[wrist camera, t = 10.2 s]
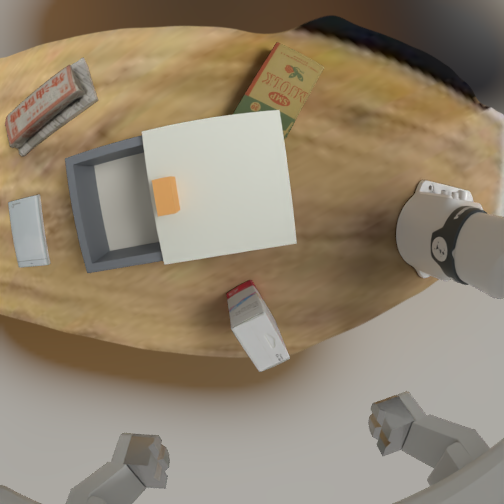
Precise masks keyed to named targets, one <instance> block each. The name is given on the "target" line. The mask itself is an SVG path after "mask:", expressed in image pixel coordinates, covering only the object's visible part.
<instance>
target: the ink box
mask: <svg viewBox="0 0 504 504" xmlns="http://www.w3.org/2000/svg"><path fill="white" fill-rule="evenodd" d="M226 295H227V301H228V308H229V315H230V322H231V330H232V331H233V333H234V334H235V336H236V338H237V339H238V341H239V342H240V344H241V345H242V347H243V348H244V350H245V351H246V353H247V354H248V356H249V357H250V359H251V360H252V362H253V363H254V365H255V366H256V368H257V369H258V371H260V372H261V371H264V370H267V369H269V368H271V367H274V366H276V365H278V364H280V363H282V362H284V361H286V360H288V359H290V356H289V354H288V352H287V349H286V346H285V344H284V341H283V339H282V336H281V334H280V331H279V329H278V326H277V324H276V321H275V319H274V317H273V315H272V314H271V312H270V310H269V309H268V307H267V305H266V304H265V302H264V300H263V299H262V297H261V295H260V293H259V292H258V290H257V288H256V287H255V285H254V283H253V282H252V280H249V281H247V282H245V283H243V284H241V285H239V286H237V287H236V288H234V289H232V290H231V291H229V292H228V293H227V294H226Z"/></svg>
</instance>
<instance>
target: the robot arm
mask: <svg viewBox="0 0 504 504" xmlns="http://www.w3.org/2000/svg"><path fill="white" fill-rule="evenodd" d="M429 187H430V188H429ZM396 241H397V246H398V250H399V252H400V254H401V256H402V258H403V259H404V260H405V261H406V262H407V263H408V264H410V265H411V266H413V267H414V268H415V269H416V271H417V273H418V275H419V276H420V277H422V278H427V277H429V276H433V277H435V278H438V279H440V280H443V281H446V282H447V281H449V280H451V279H452V280H454V281H456V282H458V283H461V284H465V285H471V286H473V287H475V288H477V289H478V290H480V291H482V292H484V293H486V294H488V295H489V296H491V297H493V298H497V299H503V298H504V217H502V216H496V215H491V214H487V213H486V212H485V211H483V208H482V206H481V205H480V203H476V202H473V198H472V195H471V193H470V192H469V191H467V190H464V189H460V188H456V187H452V186H448V185H444V184H440V183H436V182H431V181H427V180H421V181H420V182H419V184H418V186H417V189H416V192H415V194H414V195H413V196H412V197H411V198H410V199H409V200H408V202H407V203H406V204H405V206H404V207H403V209H402V211H401V213H400V216H399V219H398V223H397V228H396ZM371 411H372V415H371V416H370V417H369V429H370V432H371V434H372V437H374V438H376V439H378V442H377V446H378V448H379V450H380V452H381V454H382V456H385V455H388V454H391V453H393V452H396V451H398V450H401V449H402V451H404V452H406V453H407V454H409V455H411V456H413V457H414V458H416V459H418V460H420V461H422V462H423V463H425V464H427V465H429V466H431V467H433V468H434V470H433V471H432V473H431V474H430V476H429V477H428V479H427V481H428V483H429V485H430V486H429V487H428V488H426V489H424V490H422V491H420V492H418V493H415V494H413V495H411V496H409V497H407V498H405V499H402V500H401V501H398V502H395V503H393V504H504V438H503V439H502V440H501V441H499V442H498V443H497V444H496V445H494V446H493V447H492V448H489V447H488V445H487V444H486V443H485V441H484V440H483V439H482V438H481V436H480V435H479V434H478V433H477V432H476V430H474V429H471V428H468V427H465V426H462V425H459V424H456V423H453V422H449V421H447V420H444V419H441V418H438V417H436V416H433V415H428V416H427V415H426V414H425V412H424V411H423V410H422V408H421V407H420V406H419V405H418V403H417V402H416V401H415V399H414V398H413V397H412V395H411V394H410V393H409V392H407V391H406V392H403V393H401V394H398V395H394V396H392V397H389V398H386V399H384V400H381V401H378V402H375V403H373V404H372V406H371ZM161 442H162V440H161V438H160V437H159V435H144V434H143V435H142V434H131V433H122V434H121V435H120V437H119V440H118V443H117V446H116V449H115V452H114V455H113V458H112V461H111V462H107V463H106V464H105V465H103V466H102V467H101V468H99V469H98V470H97V471H95V472H94V473H93V474H91V475H90V476H89V477H87V478H86V479H85V480H84V481H82V482H81V483H79V484H78V485H76V486H75V487H74V488H72V489H71V491H70V494H69V496H68V499H67V502H66V504H132V503H133V502H134V501H135V500H136V499H137V498H138V497H139V496H140V495H141V493H142V492H143V491H144V490H145V489H146V488H145V487H148V488H164V489H165V488H166V483H167V477H168V476H167V475H166V473H165V470H167V469H168V468H169V463H170V459H169V453H168V450H167V449H166V447H165V446H163V445H162V444H161ZM0 504H41V503H38V502H36V501H34V500H32V499H30V498H28V497H26V496H23V495H21V494H19V493H17V492H15V491H14V490H12V489H10V488H8V487H6V486H3V485H0Z"/></svg>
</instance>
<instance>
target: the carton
mask: <svg viewBox="0 0 504 504" xmlns="http://www.w3.org/2000/svg"><path fill="white" fill-rule="evenodd" d="M323 70H324V67H323V66H322V65H320V64H319V63H317V62H315V61H313V60H312V59H310V58H308V57H306V56H304V55H303V54H301V53H299V52H297V51H295V50H293V49H291V48H289V47H287V46H285V45H283V44H281V43H278V42H277V43H276V44H275V46H274V47H273V49H272V51H271V52H270V54H269V55H268V57H267V58H266V60H265V62H264V63H263V65H262V66H261V68H260V70H259V71H258V73H257V74H256V76H255V78H254V79H253V81H252V83H251V84H250V86H249V88H248V89H247V91H246V93H245V94H244V96H243V98H242V99H241V101H240V103H239V104H238V106H237V108H236V109H235V111H234V113H233V115H234V114H242V113H250V112H260V111H271V110H279V111H280V117H281V123H282V130H283V137H284V141H285V139H286V137H287V135H288V133H289V132H290V130H291V128H292V126H293V124H294V122H295V120H296V118H297V117H298V115H299V113H300V111H301V109H302V107H303V105H304V104H305V102H306V100H307V98H308V96H309V94H310V93H311V91H312V89H313V87H314V85H315V83H316V82H317V80H318V78H319V76H320V74H321V73H322V71H323Z"/></svg>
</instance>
